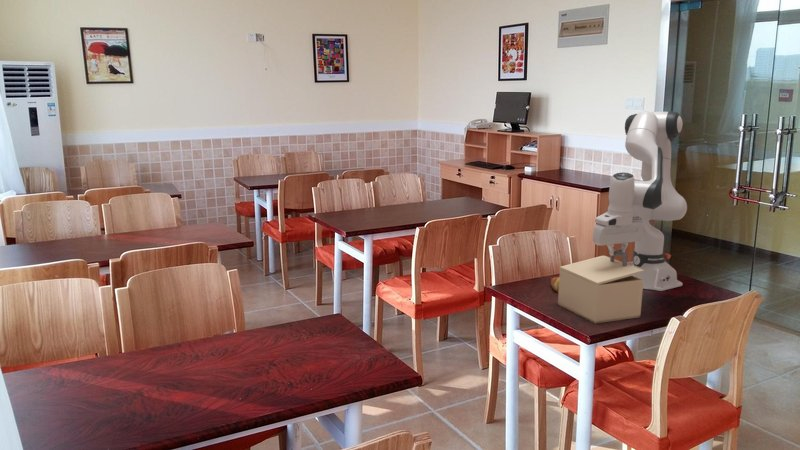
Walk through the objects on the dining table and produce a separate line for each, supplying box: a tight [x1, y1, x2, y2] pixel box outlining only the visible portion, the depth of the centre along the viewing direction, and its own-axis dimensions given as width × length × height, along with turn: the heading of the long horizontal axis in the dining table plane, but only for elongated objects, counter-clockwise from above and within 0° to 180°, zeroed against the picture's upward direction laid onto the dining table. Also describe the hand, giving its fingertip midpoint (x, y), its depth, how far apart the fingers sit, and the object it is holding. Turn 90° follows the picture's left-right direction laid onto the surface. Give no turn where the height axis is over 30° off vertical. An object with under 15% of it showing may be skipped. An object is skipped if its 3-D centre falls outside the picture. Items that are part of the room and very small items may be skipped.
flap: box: [559, 248, 644, 285], centre depth 239 cm, size 20×22×6 cm
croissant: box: [550, 276, 560, 294], centre depth 265 cm, size 21×10×8 cm, turn 18°
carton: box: [557, 268, 644, 324], centre depth 241 cm, size 20×22×14 cm
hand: (616, 254), depth 241 cm, fingers open, 3 cm apart
